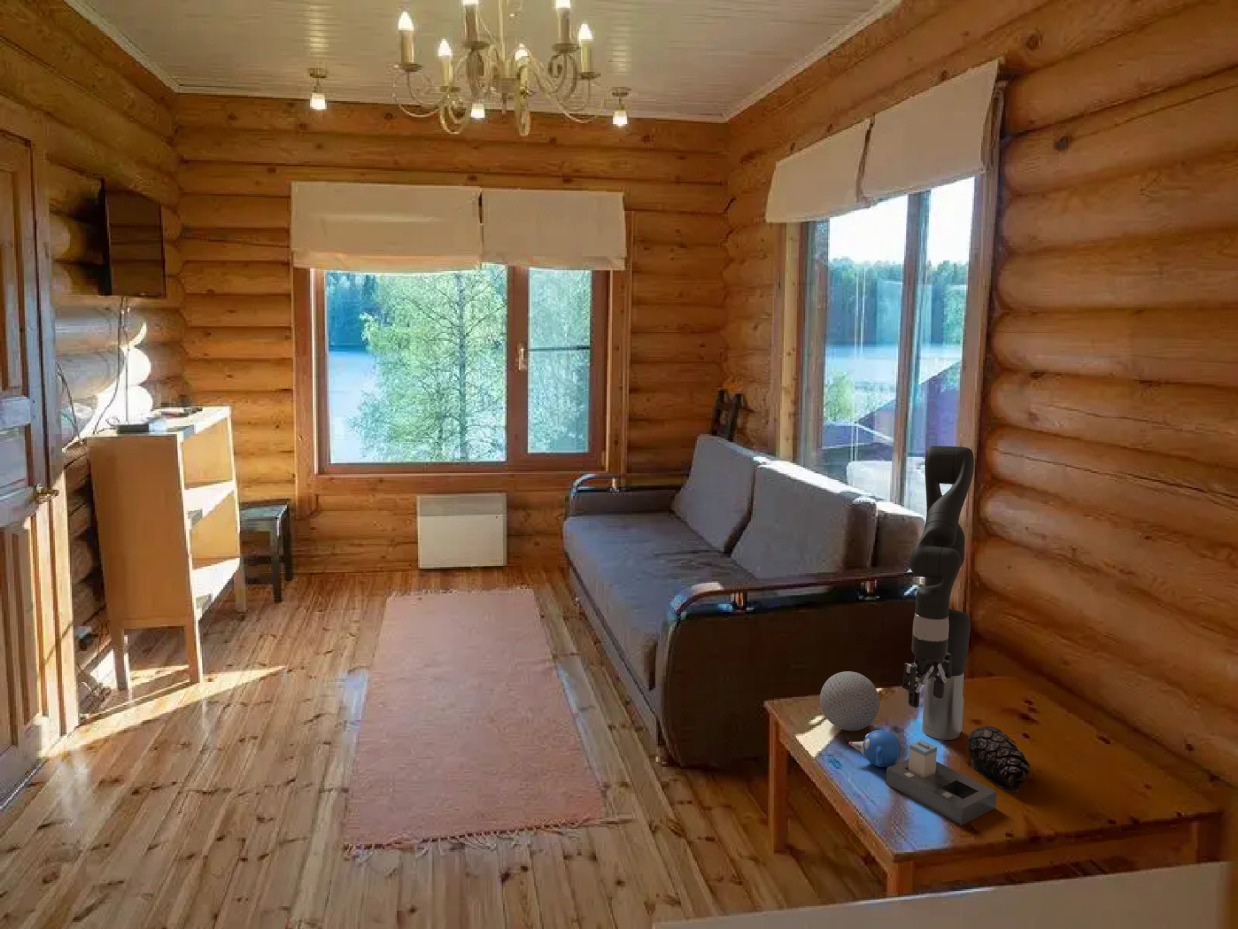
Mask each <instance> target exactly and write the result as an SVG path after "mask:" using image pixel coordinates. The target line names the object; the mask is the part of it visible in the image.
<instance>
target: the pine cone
mask: <svg viewBox="0 0 1238 929" xmlns="http://www.w3.org/2000/svg"><path fill="white" fill-rule="evenodd" d="M966 742H967V743H966V745H967V750H968V752H969V755H970V757H971V758H972V759H970V764H971V766H972V767H973V769H974V770H976V771H977V772H978V773H980V774H981V775H982V776H983V777H984V778H986V779H987V780H989V781H990V782H992V783H993V784H994V785H996V786H998V787H999V788H1000V789H1002V790H1004V791H1005V792H1008V793H1010V794H1014V795H1016V794H1017V792H1020V791H1021V790H1022V788H1023V783H1024V782H1025V781H1026V779H1027V775H1029V773H1030V770H1031V768H1030V767H1031V764H1030V762H1029V761H1028V760H1027V759H1026V756H1025V754H1024V752H1023V751H1021V750H1020V749H1018V747H1017V745H1016V744H1015V743H1014V742H1013V741H1012V740H1011V738H1010V737H1009V735H1008V734H1007V733H1004V731H1003V732H1002V730H1001V729H999V728H997V727H995V726H990V725H989V726H988V725H987V726H982V727H978V728H976V729H974V730H972V732H971V733H970V735H969V736H968V737H967V738H966ZM1015 792H1016V793H1015Z"/></svg>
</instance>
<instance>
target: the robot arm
mask: <svg viewBox="0 0 1238 929" xmlns="http://www.w3.org/2000/svg"><path fill="white" fill-rule="evenodd" d="M974 472H975V458H974V452H973V450H972V449H971V448H969V447H966V446H952V445H951V446H950V445H949V446H948V445H931V446H929V447H928V448H927V450H926V452H925V457H924V478H925V479H924V482H925V499H926V516H925V523H924V527H923V528H924V529H923V532H922V534H921V536H920V538H919V540H918V541H917V542H916V544H915V546H914V547H913V549H912V551H911V552H910V556H909V560H908V561H909V562H908V565H909V568H910V571H911V572H912V574H913V575H915V576H917V577H920V578H924V586H921V587H918V589H917V590H916V594H915V608H914V610H915V612H914V618H913V623H912V635H911V636H912V637H911V640H912V641H911V651H912V653H913V655H914V661H913V662H911V663H908V662H905V663H904V665H903V674H902V675H903V676H902V684H901V688H902V689H904V690H906V691H908V706H910V707H912V708H914V709H917V708H919V707H920V697H921V696H920V694H921V692H920V690H921V688H922V686H923V685H924V689H923V690H924V692H923V708H922V711H923V712H922V724H921V725H922V726H921V730H922V732H923V733H924V734H925V735H926V736H928V737H931V738H934V739H936V740H937V739H938V740H945V741H948V740H956V739H957V738H959V737H960V736H961V732H963V720H964V707H965V705H964V703H965V697H964V696H963V695H964V682H965V681H964V679H965V667H966V664H967V658H968V651H969V641H970V636H971V635H970V634H971V619H970V616H969V614H967V613H966V612H964V611H961V610H958V609H954V608H950V603H951V602H950V601H951V594H952V590H953V587H954V584H955V582H956V579H957V578H958V574H959V573H960V569H961V568H962V566H963V564H964V561H965V552H966V551H965V550H966V548H965V546H966V545H965V544H966V538H965V532H964V530H963V528H962V527H961V524H960V523H959V520H960V517H961V512H962V509H963V506H964V503H965V502H966V498H967V496H968V492H969V490H970V486H971V484H972V480H973V477H974ZM940 484H942V485H952V486H951V487H950V488H949V489H948V490H947V491H946V492H945V493H944V494H943V493H942V489H941V486H940ZM917 675H918V676H919V677H917ZM908 681H909V682H908ZM916 682H917V683H916Z"/></svg>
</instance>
